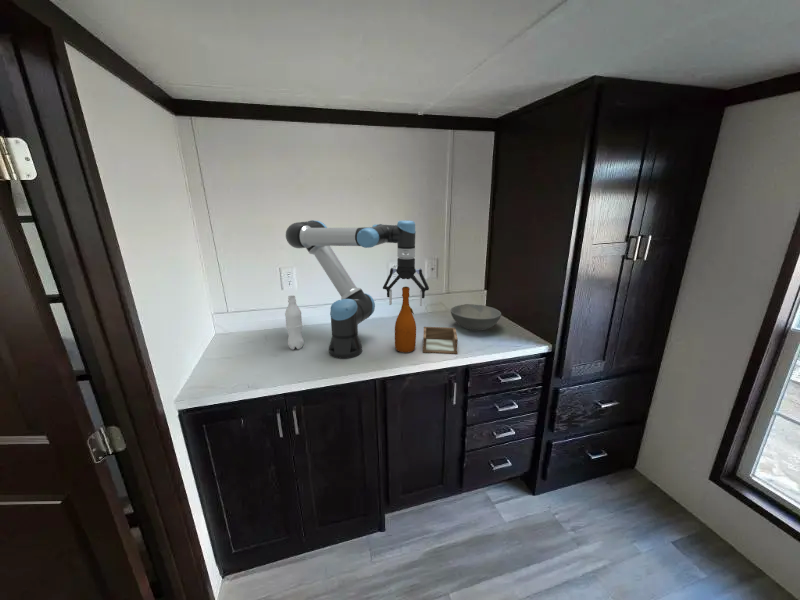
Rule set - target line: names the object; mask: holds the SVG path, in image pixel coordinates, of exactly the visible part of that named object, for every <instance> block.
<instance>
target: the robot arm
mask: <svg viewBox="0 0 800 600" xmlns="http://www.w3.org/2000/svg"><path fill="white" fill-rule="evenodd" d="M416 232H417V231H416V223H415V221H413V220H398V221H397V224H395V225H394V224H393V225H392V224H383V223H379V224H372V226H371V227H370V226H369V227H365V226H364V227H328V226H327V225H326V224H324V223H323V222H322V221H319V220H312V219H311V220H307V221H301V222H300V221H299V222H294V223H292V224H290V225H289V226H288V227H287V229H286V231H285V239H286V242H287V243H288V244H289V245H290V246H291V247H293V249H294V248H295V249H306V250H307V251H308V254H310V255H313V256H314V257H315V259H316V260H317V261H318V263H319V264H320V266H321V267H322V269H323V271H324V272H325V274H326V275H327V277H328V279H329V280H330V281H331V283H332V284H333V287H334V288H335V289H336V291H337V292H338V294H339V295H340V299H338V300H336V301H334V302H333V303H331V306H330V313H329V315H330V321H331V322H330V324H331V326H330V327H331V339H330V342H329V344H328V345H329V346H328V353H329V355H330V356H331V357H332V358H334V359H335V358H336V359H343V360H344V359H351V358H354V357H357V356H359V355H360V354H362V353H363V343H362V341H361V338H360V337H359V326H358V325H359V324H361V323H362V322H364V321H365V320H367V319H369V318H370V317H371V316H372V314H374V311H375V307H376V302H375V300H374V298H373V296H371V295H370V294H369V293H365V292H364V291H363V289H362V288H360V287H357V286H356V284H355V283H354V281H353V280H352V277H350V275H349V273H348V272H347V270H346V269H345V267H344V265H343V264H342V263H341V261H340V260H339V257H338V256H337V255H336V253H335V251H334V250H333V248H332V247H333V246H334V247H337V246H338V247H362V248H365V249H366V248H368V249H369V248H373V247H375V246H379V245H382V244H383V245H384V244H386V243H387V244H391V243H392V244H397V255H396V256H397V263H396V264H397V265H396V266H397V268H393V267H391V268H390V270H389V275H388V276H387V279H386V280H385V282H384V284H383V286H382V289H383V290H385V291H386V297H387V298H388V299H389V306H392V304H393V303H392V299H393V298H392V295H393V292H392V291H393V290H392V288H393V287H394V286H395V285H396V283H398V281H399V280H400V279H402V280H405V279H406V280H410V279H411V280H412V281H413V282H414V283H415V284H416V285H417V287H418V288H419V289H420V294H419V306H420V307H422V306H423V299H425V295H426V291H429V290H430V287H429V284H428V282H427V281H426V278H425V277H424V274H423V269H422V268H418V269H416V259H415V257H416ZM395 273H397V276H396V277H395V278H394V279H393V280H392V282H391V283H390V284H389V282H390V280H391V278H392V276H393V274H395ZM416 273H417V274H418V275H419V277H420V280H421V281H422V283H423V285H422V283H421V282H420V281H419V279H418V278H417V277H416V276H415V275H416Z"/></svg>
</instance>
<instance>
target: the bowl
mask: <svg viewBox="0 0 800 600" xmlns="http://www.w3.org/2000/svg"><path fill="white" fill-rule="evenodd" d="M450 314H451V317H452V319H453V320H454V321H455V323H457V324H458V325H459V326H460V327H462V328H464V329H466V330H469V331H484V330H489V329H490V328H492V327H493V326H495V325H496V324H497V323H498V322H499V320H500V319H501V317H502V312H501V311H500V310H498V309H497V308H495V307H491V306H487V305H483V304H472V303H471V304H469V303H466V304H459V305H455V306H453V307H451V309H450Z"/></svg>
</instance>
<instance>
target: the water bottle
mask: <svg viewBox="0 0 800 600" xmlns="http://www.w3.org/2000/svg"><path fill="white" fill-rule="evenodd" d="M287 299H288V300H287V303H288V305H287V308H285V312H284V316H285V327H286V330H287V333H288V339H287V344H288V347H289V348H290V350H293V351H294V350H295V348H296V349H297V350H301V348H302V347H303V346H304V345H305V344H304V343H305V340H304V337H303V334H302V330H303V321H302V320H303V319H302V318H303V317H302V311H301V309H300V307H299V306H298V304H297V299H296V295H288V297H287Z"/></svg>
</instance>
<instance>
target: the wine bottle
mask: <svg viewBox="0 0 800 600" xmlns="http://www.w3.org/2000/svg"><path fill="white" fill-rule="evenodd" d="M401 291H402V295H401V297H402V304H401V307H400V308H401V309H400V310H399V313H398V315H397V317H396V321H395V323H394V347H395V350H396V351H398V352H400V353H411V352H413V351H414V350H415V349H416V343H417V323H416V320H415V318H414V314H415V313H414V311H413V308H412V307H411V306H410V299H409V297H410V287H409V286H403V287H402V288H401Z"/></svg>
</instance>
